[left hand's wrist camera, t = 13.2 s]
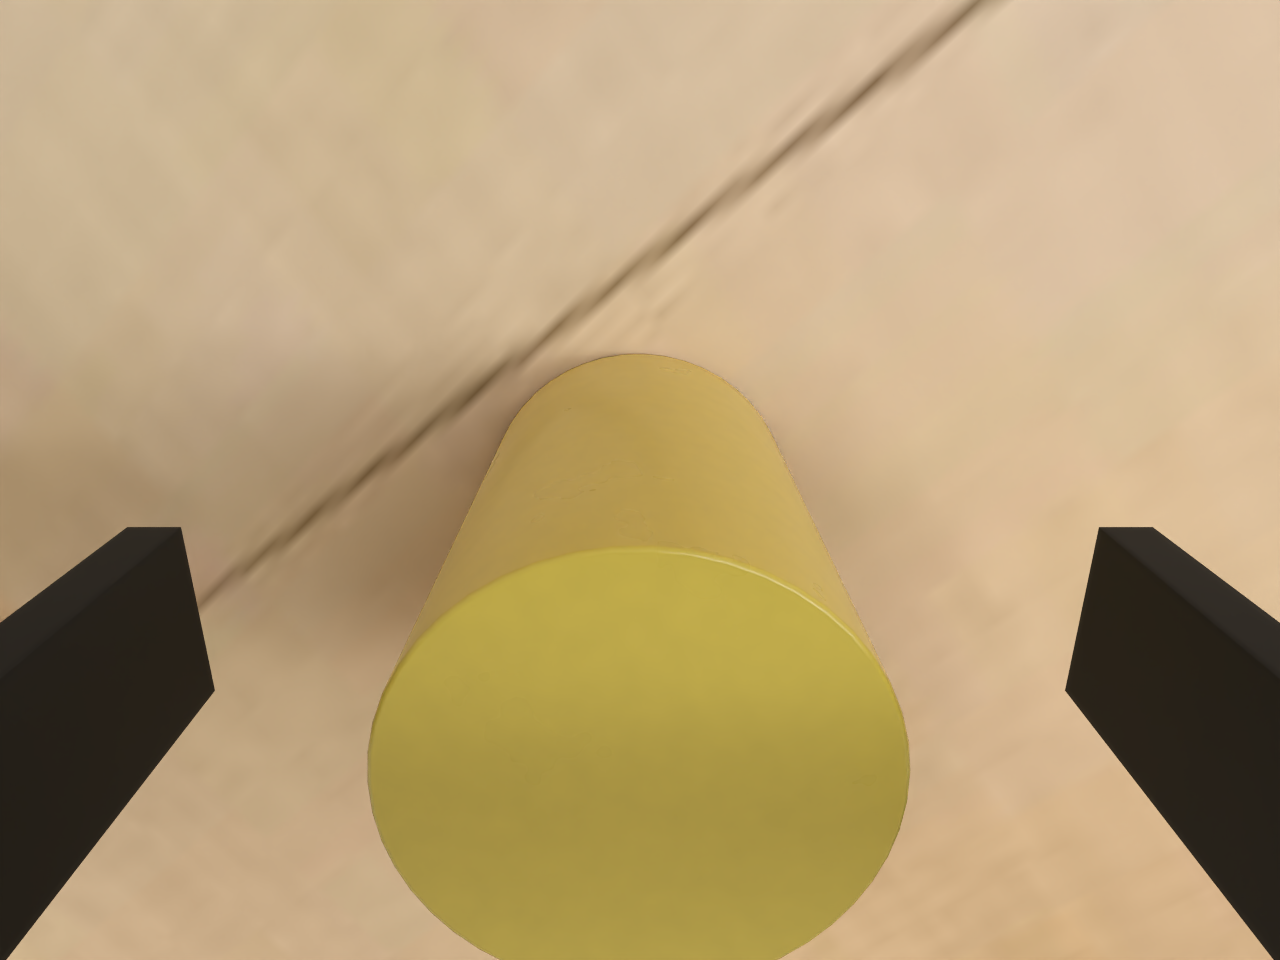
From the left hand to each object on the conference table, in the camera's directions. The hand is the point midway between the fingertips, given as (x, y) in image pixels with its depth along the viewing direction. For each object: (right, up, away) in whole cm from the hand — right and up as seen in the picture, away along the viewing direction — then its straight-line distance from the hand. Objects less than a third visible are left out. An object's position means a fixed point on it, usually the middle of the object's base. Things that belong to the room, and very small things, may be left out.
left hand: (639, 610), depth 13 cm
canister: (0, +2, +5) cm, 5 cm away
